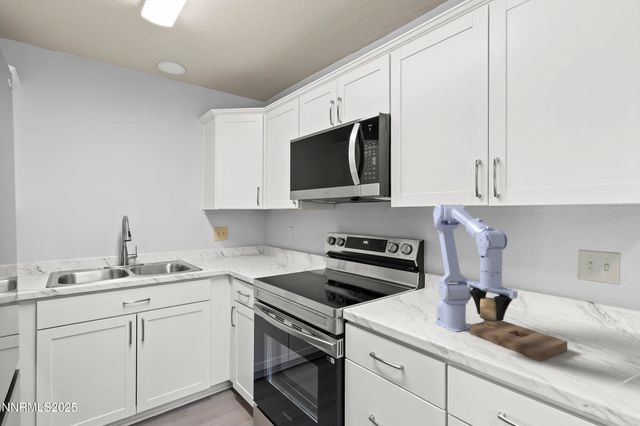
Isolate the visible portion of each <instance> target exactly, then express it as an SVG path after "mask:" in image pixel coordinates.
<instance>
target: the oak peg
mask: <svg viewBox="0 0 640 426" xmlns="http://www.w3.org/2000/svg"><path fill="white" fill-rule="evenodd" d="M479 318H480V319H482V320H483V322H484V323H485V327H487V328H495V325H496V324H497V321H498V320H497V318H496V303H495V299H494V297H487V296H486V297H483V298H480V315H479Z"/></svg>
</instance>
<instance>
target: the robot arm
mask: <svg viewBox="0 0 640 426" xmlns="http://www.w3.org/2000/svg"><path fill="white" fill-rule="evenodd" d="M433 208H434V209H433V212H432V216H433V222H434V227H435V229H437V233H438V237H439V243H440V249H441V257H442V262H443V270H444V275H443V276H441V278H440V279H439V280H438V295H439V298H440V299H439V301H438V302H437V304H436V321H434V324H435V325H438V326H440V327H443V328H445V329H448V330H450V331H452V332H455V333H458V332H459V333H460V332H463V331H466V330H470V325H467V316H466V314H467V304H469V301H471V299H472V300H473V302H474V305H475V307H476V308H475V309H476V313H477V315H479V316H480V298H483V297H487V294H488V293H491V294H495V296H493V298H494V299H495V303H496V318H497V320H498V321H501V320H502V321H504V318H505V316H506V312H507V310H508V307H509V305H510V304H511V303H512V301H513V300H514V299H518V290H513V289H510V288H508V287H504V286H503V285H502V284H503V250H505V249H506V247H507V246H508V237H507V234H506V232H504V231H503V230H502V229H494V228H493V227H492V226H491V225H489V224H487V223H486V222H485V221H484V219H482V218H474V217H472V215H471V214H470V213H468V211H467V208H466V206H464V205H463V204H441V203H437V204H436V205H435V207H433ZM460 225H463V226H464V227H465V231H466V233H467V234H468V235H470V237H471V238H473V239H474V240H475V243H476V246H477V249H478V255H479V256H480V257H479V260H480V262H479V267H480V268H479V281H474V280H469V279H468V278H467V277H466V276H465V275H463V274H462V273H461V270H460V263H459V259H458V252H457V246H456V242H455V241H456V240H455V236H454V231H455V230H456V229H458V228H459V227H460Z"/></svg>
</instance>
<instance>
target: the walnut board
mask: <svg viewBox="0 0 640 426" xmlns="http://www.w3.org/2000/svg"><path fill="white" fill-rule="evenodd" d="M469 326H470V329H469V335H473V336H475V337H478V338H480V339H482V340H485V341H487V342H490V343H493V344H495V345H497V346H501V347H502V348H505V349H507V350H510V351H512V352H516V353H518V354H521V355H524V356H525V357H528V358H531V359H534V360H536V361H538V362H543V361H547V360H548V359H551V358H554V357H556V356H559V355H561V354H564V353H566V352H568V341H567V340H565V339H561V338H557V337H555V336H553V335H549V334H546V333H543V332H540V331H536V330H533V329H529V328H527V327H523V326H521V325H517V324H513V323H511V322H508V321H505V320H501V321H497V324H496V325H495V328H487V327H485V323H484V321H481V322H477V323H472V324H470V325H469Z"/></svg>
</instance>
